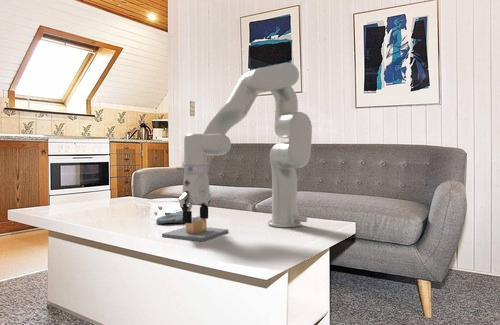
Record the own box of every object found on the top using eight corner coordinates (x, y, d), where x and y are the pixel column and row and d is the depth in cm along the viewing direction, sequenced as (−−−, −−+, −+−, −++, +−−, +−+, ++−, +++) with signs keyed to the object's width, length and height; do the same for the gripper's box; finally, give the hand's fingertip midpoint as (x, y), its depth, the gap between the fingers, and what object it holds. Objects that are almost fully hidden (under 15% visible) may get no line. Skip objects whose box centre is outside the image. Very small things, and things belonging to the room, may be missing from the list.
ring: (209, 230, 138) (209, 219, 138) (198, 234, 132) (198, 222, 132) (193, 228, 141) (193, 217, 141) (181, 232, 135) (181, 220, 135)
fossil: (153, 226, 154) (153, 216, 154) (163, 218, 171) (163, 208, 171) (187, 226, 154) (187, 215, 154) (193, 218, 171) (193, 208, 171)
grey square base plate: (228, 232, 140) (228, 215, 140) (202, 241, 126) (202, 222, 125) (190, 228, 147) (190, 212, 147) (162, 236, 133) (161, 218, 133)
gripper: (189, 171, 126) (189, 225, 127) (218, 169, 142) (218, 217, 142) (170, 171, 130) (170, 223, 130) (200, 169, 145) (201, 216, 146)
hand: (195, 220), depth 136 cm, fingers open, 9 cm apart
